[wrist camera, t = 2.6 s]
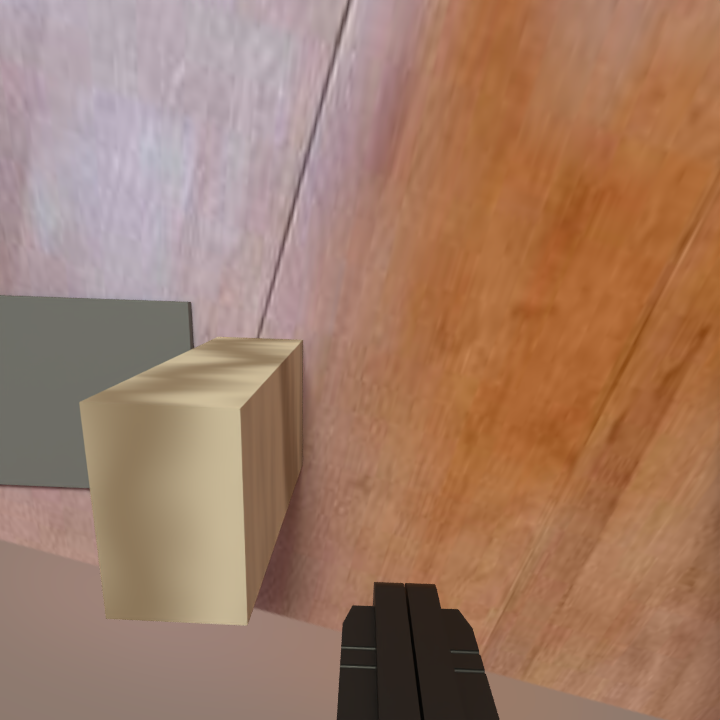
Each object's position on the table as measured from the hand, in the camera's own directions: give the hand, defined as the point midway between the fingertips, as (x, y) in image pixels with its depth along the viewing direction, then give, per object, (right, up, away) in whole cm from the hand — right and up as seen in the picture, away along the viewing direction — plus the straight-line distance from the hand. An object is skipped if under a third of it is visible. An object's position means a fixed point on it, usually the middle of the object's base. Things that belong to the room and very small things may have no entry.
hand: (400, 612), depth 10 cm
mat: (-18, +4, +15) cm, 24 cm away
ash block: (-7, +4, +15) cm, 17 cm away
